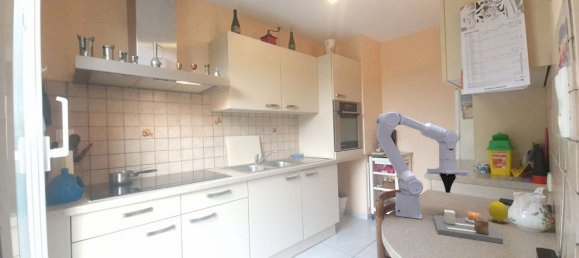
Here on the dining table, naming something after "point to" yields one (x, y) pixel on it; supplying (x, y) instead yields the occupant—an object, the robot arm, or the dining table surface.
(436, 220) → the panel
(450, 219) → the slider cream
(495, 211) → the lemon
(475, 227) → the slider walnut
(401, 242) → the dining table surface
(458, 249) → the dining table surface
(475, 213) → the button orange
